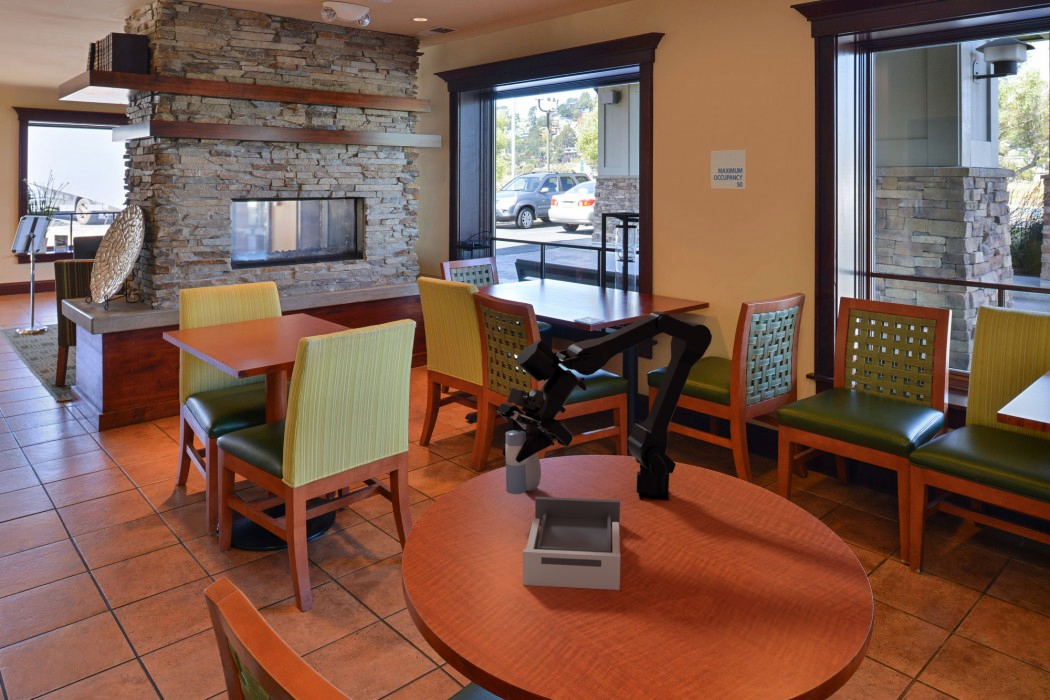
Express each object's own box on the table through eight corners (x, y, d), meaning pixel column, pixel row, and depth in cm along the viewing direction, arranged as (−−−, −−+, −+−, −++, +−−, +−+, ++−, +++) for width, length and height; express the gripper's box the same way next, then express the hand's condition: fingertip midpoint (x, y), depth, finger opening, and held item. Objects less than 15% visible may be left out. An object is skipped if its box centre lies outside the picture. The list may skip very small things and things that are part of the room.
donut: (543, 496, 172) (543, 453, 170) (528, 498, 171) (528, 454, 169) (528, 481, 181) (528, 439, 179) (514, 482, 180) (514, 440, 178)
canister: (527, 487, 160) (527, 430, 158) (525, 494, 156) (524, 436, 154) (507, 486, 161) (506, 429, 158) (504, 494, 157) (503, 436, 154)
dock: (533, 538, 151) (533, 508, 150) (618, 542, 150) (619, 512, 148) (522, 584, 133) (522, 551, 132) (619, 589, 132) (620, 556, 130)
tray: (535, 518, 159) (535, 496, 159) (619, 522, 158) (620, 500, 157) (526, 560, 142) (526, 535, 141) (620, 564, 140) (621, 540, 139)
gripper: (503, 364, 163) (459, 425, 159) (561, 380, 149) (515, 448, 144) (533, 394, 170) (492, 454, 165) (592, 413, 155) (548, 479, 151)
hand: (510, 458), depth 156 cm, fingers closed on canister, 4 cm apart
